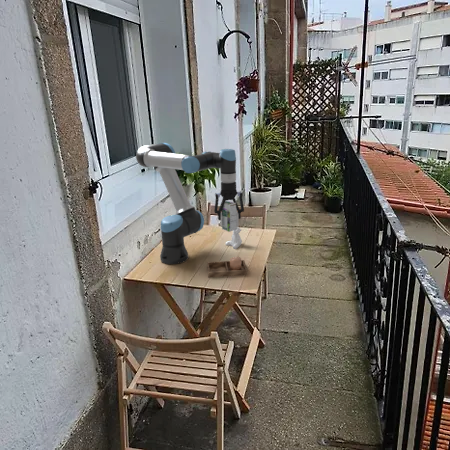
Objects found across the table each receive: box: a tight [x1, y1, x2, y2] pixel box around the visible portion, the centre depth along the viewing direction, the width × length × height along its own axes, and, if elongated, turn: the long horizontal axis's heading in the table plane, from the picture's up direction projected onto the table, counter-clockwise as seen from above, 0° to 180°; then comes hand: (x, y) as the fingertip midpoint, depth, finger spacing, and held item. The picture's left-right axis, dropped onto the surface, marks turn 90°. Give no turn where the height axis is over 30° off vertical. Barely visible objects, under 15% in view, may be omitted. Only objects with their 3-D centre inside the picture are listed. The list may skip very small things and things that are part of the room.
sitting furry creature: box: [225, 226, 243, 250], centre depth 220 cm, size 10×9×12 cm
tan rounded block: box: [229, 256, 242, 271], centre depth 187 cm, size 6×6×6 cm
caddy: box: [206, 259, 248, 278], centre depth 188 cm, size 19×12×4 cm, turn 95°
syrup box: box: [221, 200, 238, 233], centre depth 190 cm, size 6×6×14 cm
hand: (229, 225), depth 192 cm, fingers closed on syrup box, 8 cm apart
